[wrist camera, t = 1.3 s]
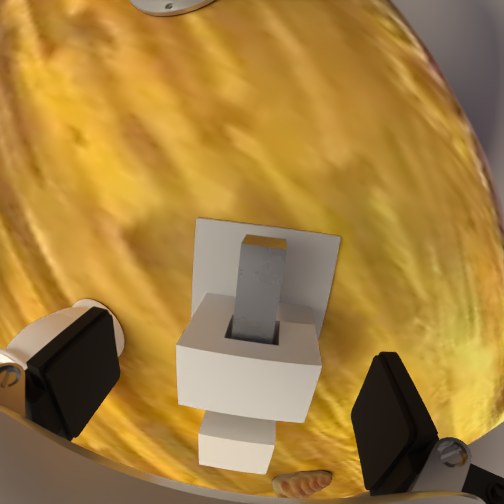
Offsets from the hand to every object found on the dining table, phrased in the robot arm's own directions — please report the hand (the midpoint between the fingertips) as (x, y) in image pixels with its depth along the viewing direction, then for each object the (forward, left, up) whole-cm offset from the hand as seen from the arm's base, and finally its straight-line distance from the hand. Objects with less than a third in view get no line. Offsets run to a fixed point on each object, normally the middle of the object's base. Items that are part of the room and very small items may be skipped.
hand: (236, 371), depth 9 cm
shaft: (+8, 0, -14) cm, 16 cm away
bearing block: (+8, 0, -18) cm, 20 cm away
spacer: (+15, 0, -11) cm, 19 cm away
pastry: (+38, +11, -19) cm, 44 cm away
